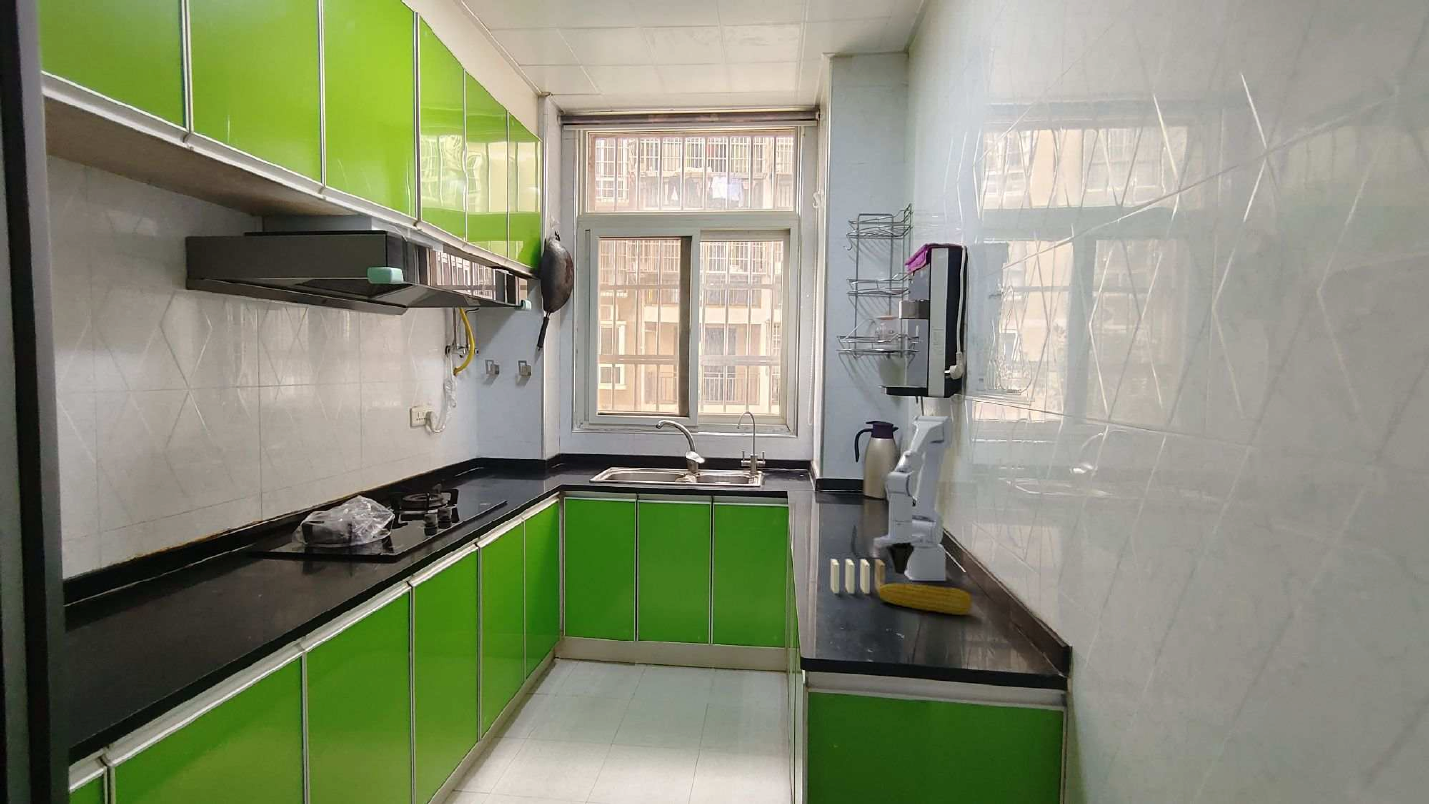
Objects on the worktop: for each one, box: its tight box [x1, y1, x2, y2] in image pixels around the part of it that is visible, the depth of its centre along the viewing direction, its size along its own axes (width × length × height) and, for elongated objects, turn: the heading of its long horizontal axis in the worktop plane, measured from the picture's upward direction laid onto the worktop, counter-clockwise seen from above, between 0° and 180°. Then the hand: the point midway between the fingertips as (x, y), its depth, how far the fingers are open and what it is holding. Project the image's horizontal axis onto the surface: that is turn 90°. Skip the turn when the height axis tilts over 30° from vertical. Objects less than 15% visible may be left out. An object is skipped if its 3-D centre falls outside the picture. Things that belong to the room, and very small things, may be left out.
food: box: [877, 583, 973, 616], centre depth 155 cm, size 21×6×6 cm, turn 62°
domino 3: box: [859, 558, 871, 595], centre depth 168 cm, size 1×5×7 cm, turn 0°
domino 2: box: [845, 558, 855, 594], centre depth 168 cm, size 1×5×7 cm, turn 0°
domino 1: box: [830, 558, 840, 594], centre depth 168 cm, size 1×5×7 cm, turn 0°
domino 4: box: [874, 559, 886, 592], centre depth 168 cm, size 1×5×7 cm, turn 0°
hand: (899, 573), depth 168 cm, fingers closed
